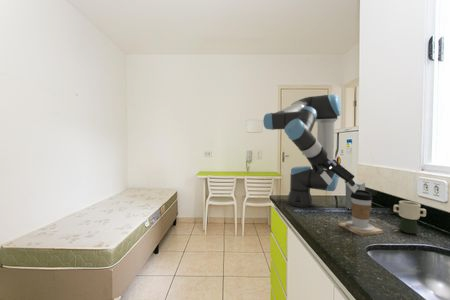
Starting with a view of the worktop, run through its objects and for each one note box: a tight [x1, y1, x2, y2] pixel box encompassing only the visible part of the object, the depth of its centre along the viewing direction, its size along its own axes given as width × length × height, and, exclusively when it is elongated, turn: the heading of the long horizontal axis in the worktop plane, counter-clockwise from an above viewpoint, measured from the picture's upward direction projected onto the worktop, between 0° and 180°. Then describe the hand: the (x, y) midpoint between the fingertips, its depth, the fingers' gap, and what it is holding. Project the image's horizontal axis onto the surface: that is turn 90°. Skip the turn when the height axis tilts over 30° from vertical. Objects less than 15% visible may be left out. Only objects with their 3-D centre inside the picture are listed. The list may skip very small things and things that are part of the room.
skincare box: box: [345, 181, 366, 210], centre depth 126 cm, size 8×7×16 cm
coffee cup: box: [350, 190, 373, 228], centre depth 97 cm, size 8×8×15 cm
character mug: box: [392, 200, 427, 235], centre depth 95 cm, size 11×7×13 cm, turn 55°
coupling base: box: [338, 219, 384, 237], centre depth 98 cm, size 12×12×2 cm
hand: (342, 186), depth 93 cm, fingers open, 13 cm apart
